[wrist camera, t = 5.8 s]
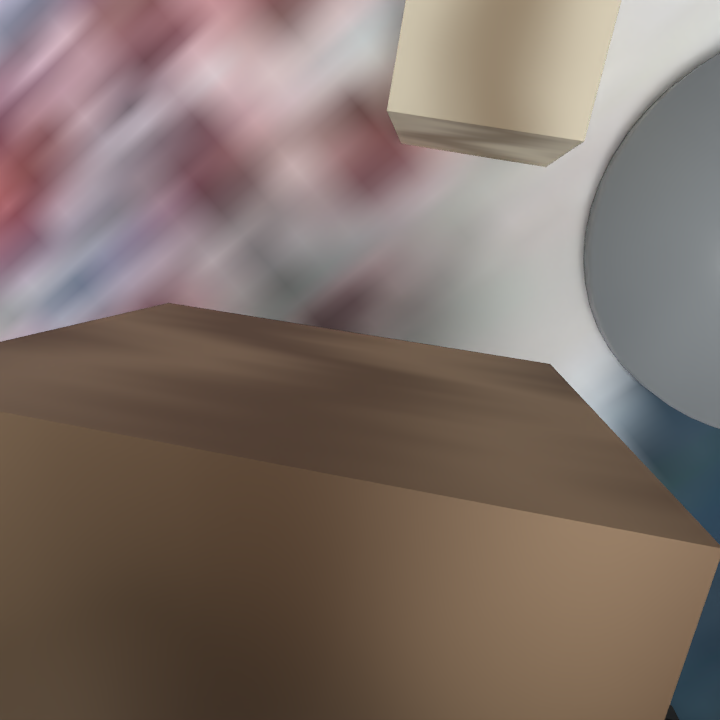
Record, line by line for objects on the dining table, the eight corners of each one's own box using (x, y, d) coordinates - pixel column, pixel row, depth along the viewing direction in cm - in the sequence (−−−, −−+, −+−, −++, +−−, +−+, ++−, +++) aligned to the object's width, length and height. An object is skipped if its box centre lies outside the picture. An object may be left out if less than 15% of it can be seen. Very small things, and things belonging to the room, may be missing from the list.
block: (153, 618, 16) (-100, 959, 9) (168, 303, 14) (-166, 380, 6) (474, 691, 15) (515, 1155, 8) (549, 364, 13) (722, 548, 5)
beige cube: (401, 143, 26) (386, 110, 19) (430, -19, 24) (426, -119, 17) (545, 167, 25) (584, 141, 18) (586, 1, 23) (646, -96, 16)
